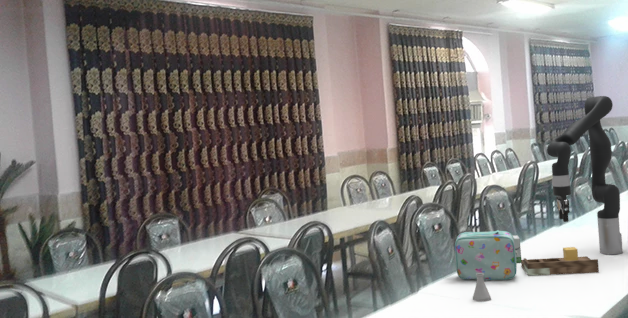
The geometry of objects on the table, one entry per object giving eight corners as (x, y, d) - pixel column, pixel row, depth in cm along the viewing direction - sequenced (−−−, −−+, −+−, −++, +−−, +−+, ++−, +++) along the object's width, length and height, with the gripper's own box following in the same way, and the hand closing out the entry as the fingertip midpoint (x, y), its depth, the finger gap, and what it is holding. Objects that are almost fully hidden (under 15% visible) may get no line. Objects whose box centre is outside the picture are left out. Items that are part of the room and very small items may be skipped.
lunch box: (520, 274, 264) (516, 227, 263) (520, 281, 254) (516, 231, 253) (458, 275, 273) (454, 229, 272) (456, 281, 263) (452, 233, 262)
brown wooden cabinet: (587, 262, 273) (586, 251, 272) (598, 272, 256) (597, 259, 256) (521, 266, 278) (520, 254, 277) (528, 275, 261) (527, 263, 261)
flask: (469, 297, 239) (467, 273, 238) (487, 295, 239) (485, 270, 239) (476, 302, 231) (474, 277, 231) (494, 300, 232) (492, 275, 232)
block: (575, 257, 272) (574, 247, 272) (578, 260, 267) (577, 249, 267) (563, 258, 273) (562, 247, 273) (566, 261, 268) (565, 250, 268)
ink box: (522, 262, 284) (520, 238, 283) (511, 263, 285) (509, 238, 284) (519, 258, 292) (517, 234, 292) (509, 258, 293) (507, 235, 293)
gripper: (573, 185, 268) (576, 222, 269) (566, 182, 282) (568, 217, 283) (556, 187, 269) (559, 223, 270) (549, 183, 283) (552, 218, 284)
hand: (564, 220), depth 277 cm, fingers open, 6 cm apart
